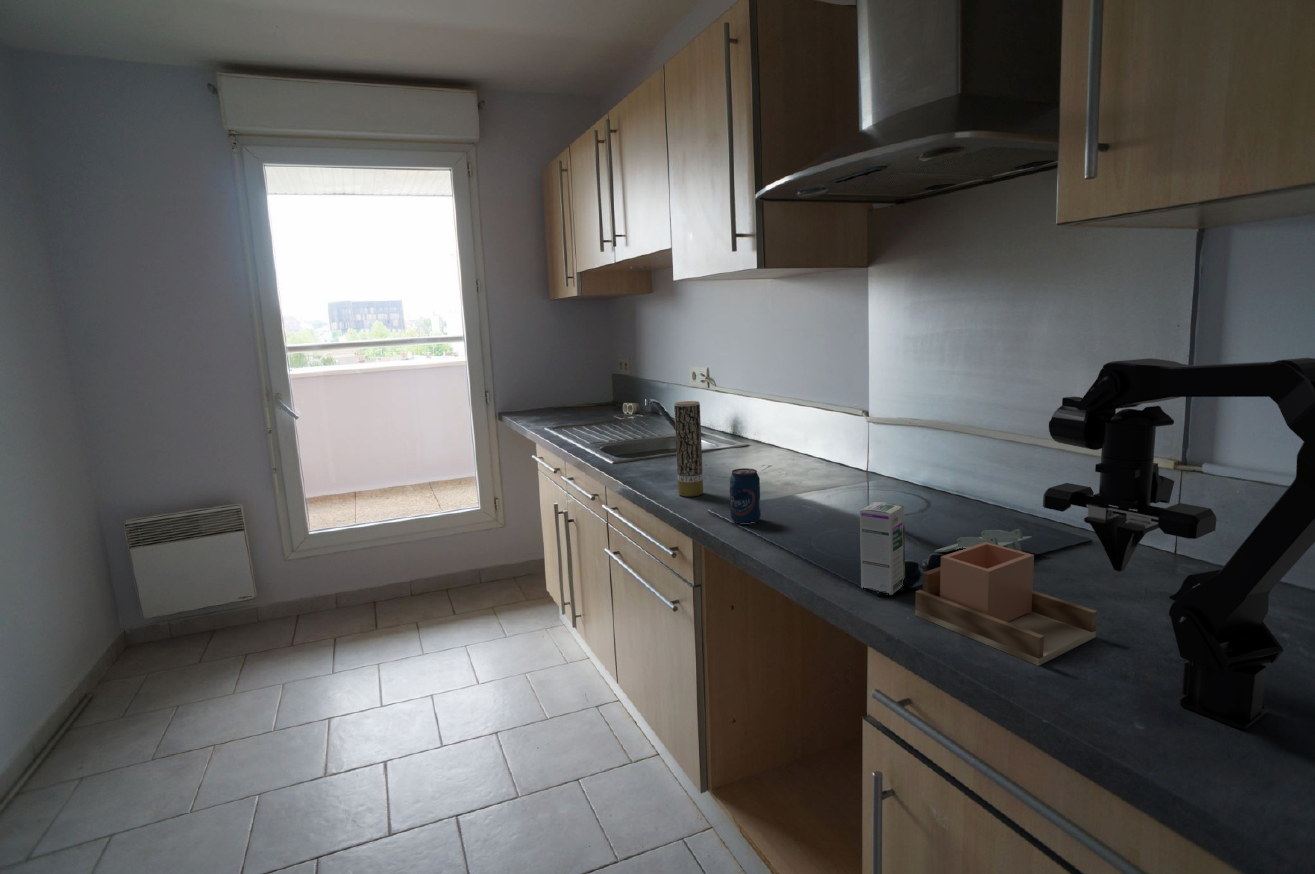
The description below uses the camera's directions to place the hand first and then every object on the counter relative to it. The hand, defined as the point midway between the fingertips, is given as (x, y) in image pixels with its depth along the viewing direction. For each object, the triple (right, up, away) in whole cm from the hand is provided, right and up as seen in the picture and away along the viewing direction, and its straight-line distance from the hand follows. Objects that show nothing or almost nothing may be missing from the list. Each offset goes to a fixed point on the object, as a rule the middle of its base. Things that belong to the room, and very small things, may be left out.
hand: (1119, 570), depth 95 cm
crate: (-11, -9, +14) cm, 20 cm away
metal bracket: (+2, -5, +43) cm, 44 cm away
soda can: (-41, -2, +71) cm, 82 cm away
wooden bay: (-10, -11, +12) cm, 19 cm away
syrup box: (-23, -9, +29) cm, 38 cm away
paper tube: (-53, +2, +97) cm, 111 cm away
